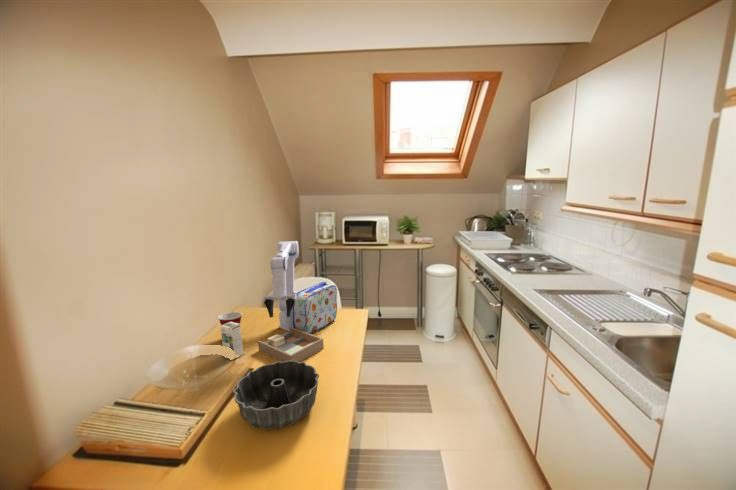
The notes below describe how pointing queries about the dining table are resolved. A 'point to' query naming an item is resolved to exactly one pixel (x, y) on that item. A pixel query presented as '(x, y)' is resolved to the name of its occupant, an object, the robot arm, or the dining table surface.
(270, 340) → the ash block
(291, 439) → the dining table surface
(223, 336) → the syrup box
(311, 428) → the dining table surface
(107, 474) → the dining table surface
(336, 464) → the dining table surface
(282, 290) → the robot arm
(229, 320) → the plastic cup
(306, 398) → the bundt pan
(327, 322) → the lunch box
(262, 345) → the divided box
